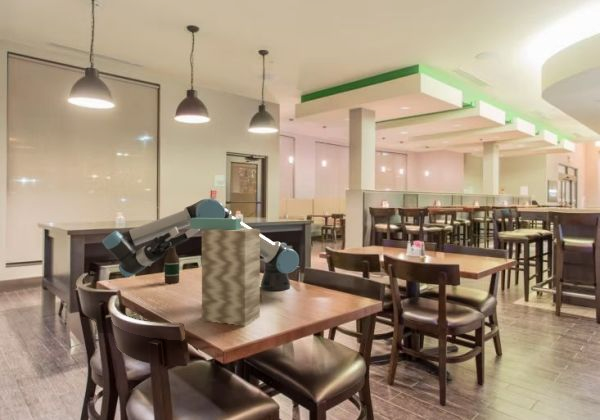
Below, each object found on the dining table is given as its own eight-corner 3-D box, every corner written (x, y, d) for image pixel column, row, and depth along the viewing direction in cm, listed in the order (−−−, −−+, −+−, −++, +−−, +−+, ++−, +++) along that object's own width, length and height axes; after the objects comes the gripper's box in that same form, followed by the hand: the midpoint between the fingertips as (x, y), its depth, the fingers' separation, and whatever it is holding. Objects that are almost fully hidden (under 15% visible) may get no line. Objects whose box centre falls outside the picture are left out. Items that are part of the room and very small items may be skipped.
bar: (190, 228, 149) (190, 218, 149) (196, 227, 153) (196, 217, 153) (235, 230, 143) (235, 219, 143) (241, 229, 146) (241, 218, 146)
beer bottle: (174, 284, 205) (174, 239, 204) (161, 283, 206) (161, 239, 206) (182, 281, 212) (182, 238, 212) (169, 280, 214) (169, 237, 213)
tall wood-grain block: (202, 320, 144) (201, 229, 143) (219, 312, 155) (219, 227, 154) (245, 326, 138) (245, 231, 137) (259, 316, 149) (259, 229, 148)
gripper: (174, 257, 169) (210, 234, 163) (131, 266, 146) (171, 240, 139) (167, 242, 170) (202, 218, 164) (123, 249, 147) (162, 222, 140)
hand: (188, 228), depth 152 cm, fingers open, 13 cm apart
